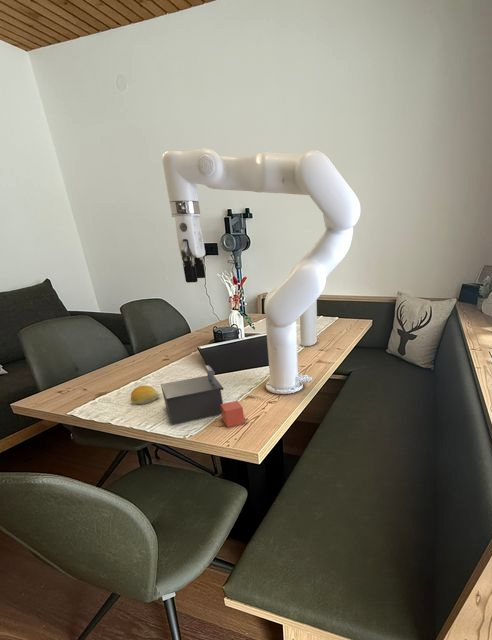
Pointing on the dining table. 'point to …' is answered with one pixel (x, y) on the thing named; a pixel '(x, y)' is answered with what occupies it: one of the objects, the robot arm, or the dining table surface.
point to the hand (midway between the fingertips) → (196, 280)
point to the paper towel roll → (309, 325)
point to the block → (232, 413)
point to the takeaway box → (194, 407)
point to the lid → (192, 386)
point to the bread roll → (143, 395)
